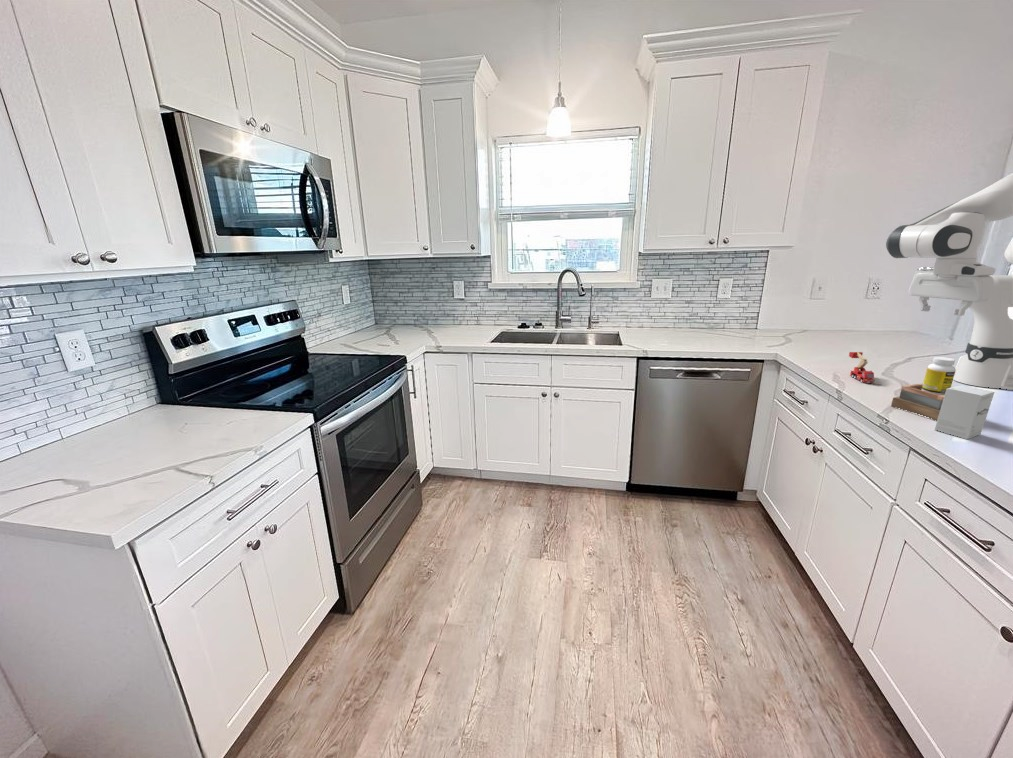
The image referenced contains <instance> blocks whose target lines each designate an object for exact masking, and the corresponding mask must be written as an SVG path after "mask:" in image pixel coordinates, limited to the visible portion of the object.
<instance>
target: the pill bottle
mask: <svg viewBox="0 0 1013 758" xmlns="http://www.w3.org/2000/svg"><path fill="white" fill-rule="evenodd" d="M955 362H956V360H955V359H954V358H951V357H946V356H945V357H944V356H934V357H933V360H932V363H930V364H929V365H927V368H926V371H925V376H924V380H923V383H922V384H923V386H922V390H923V391H926V392H930V393H934V394H937V395H945V393H946V389H947V388H951V387H952V384H953V381H954V380H953V378H954V375H955V371H956V369H955V368H956V367H954V365H955Z"/></svg>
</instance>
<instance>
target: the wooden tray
mask: <svg viewBox="0 0 1013 758" xmlns="http://www.w3.org/2000/svg"><path fill="white" fill-rule="evenodd" d="M922 386H923V383H915V384H908V385H907V384H906V385H902V386H901V390H900V393H899V396H896V397H895V396H894V397H893V398H892V401H891V406H890V407H892V406H894V407H893V408H895V407H897V408H896V409H898V408H900V409H899V410H901V409H903V410H902V411H904V410H907V411H910V412H914V413H917V414H920V415H923V416H926V417H929V418H932V419H934V420H933V421H935V420H936V421H935V422H937V420H938V416H939V413H940V410H941V406H942V403H943V400H944V396H945V395H937V394H934V393H930V392H926V391H923V390H922ZM907 411H906V412H907ZM910 412H909V413H910Z"/></svg>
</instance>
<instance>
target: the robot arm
mask: <svg viewBox="0 0 1013 758" xmlns="http://www.w3.org/2000/svg"><path fill="white" fill-rule="evenodd" d="M1012 216H1013V172H1012V173H1009V174H1008V175H1006V176H1004V177H1002V178H1001V179H999V180H997V181H996V182H993V183H992V184H991V185H989V186H987V187H985V188H983V189H981V190H980V191H977V192H975V193H974V194H972V195H969V196H967V197H965V198H962V199H961V200H958V201H956V202H954V203H952V204H950V205H947V206H945V207H943V208H942V209H939V210H937V211H935V212H933V213H931V214H929V215H927V216H926V217H924V218H921V219H920V220H918V221H915V222H914V223H910V224H904V225H900V226H898V227H896V228H895V229H894V230H893V231H892V232H891V233H890V234H889V235H888V237H887V239H886V242H885V247H886V250H887V252H888V253H889V255H890V256H891V257H893V258H894V259H908V258H917V259H918V258H919V259H920V258H922V259H923V258H924V259H925V258H926V259H928V258H929V259H930V258H931V259H935V258H936V259H935V262H934V266H933V267H927V266H922V267H920V268H917V269H916V270H915V271H914V274H913V278H912V280H911V282H910V284H909V288H908V291H907V293H908V295H909V296H911V297H919V299H918V301H919V303H920V306H921V307H920V311H921V312H930V310H931V305H929V304H928V303H929V302H928V301H929V300H930V298H931V299H932V298H933V299H942V300H955V301H961V305H962V306H961V307H959V308H956V309H955V311H954V316H958V317H959V316H961V317H962V316H964V315H965V313H966V310H967V309H970V311H971V313H972V316H973V328H972V332H971V335H970V339H969V342H968V343H967V345H966V347H965V350H964V353H965V354H963V355H961V356H960V357H959V359H958V360H957V361H958V362H957V363H956V365H955V367H954V368H955V369H956V371H955V375H954V378H953V381H955V382H958V383H962V384H965V385H970V386H975V387H980V388H988V387H989V388H990V389H999V388H1001V390H1006V389H1007V391H1013V319H1012V318H1011V317H1010V315H1009V314H1008V312H1009V310H1008V309H1009V308H1013V271H1012V272H1011V273H1010V274H1002V275H1001V274H998V275H997V274H995V273H996V268H995V267H992V266H990V265H986V264H984V263H983V264H982V263H980V262H977V259H978V249H979V247H980V246H981V244H982V242H983V237H984V233H985V229H986V223H991V222H997V221H1002V220H1005V219H1007V218H1010V217H1012ZM1003 256H1004V258H1005V260H1006V262H1008V263H1009V264H1011V265H1013V236H1012V237H1011V240H1010V241H1009V243H1008V245H1007V246H1006V249H1005V250H1004V253H1003ZM989 388H988V389H989Z"/></svg>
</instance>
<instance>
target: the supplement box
mask: <svg viewBox="0 0 1013 758" xmlns="http://www.w3.org/2000/svg"><path fill="white" fill-rule="evenodd" d="M994 395H995V391H993V390H988V389H983V388H977V387H972V386H967V385H962V384H959V385H955V386H951V388H947V389H946V393H945V396H944V400H943V403H942V406H941V410H940V413H939V416H938V420H937V421H936V424H935V426H934V431H937V430H938V431H937V432H940V431H941V433H943V432H944V433H943V434H947V435H950V434H951V436H953V435H954V437H957V436H958V437H957V438H960V437H961V439H965V440H969V439H971V438H973V437H976V436H980V435H981V434H982V432H983V429H984V425H985V422H986V420H987V417H988V413H989V410H990V407H991V405H992V404H991V403H992V400H993V398H994Z"/></svg>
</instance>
